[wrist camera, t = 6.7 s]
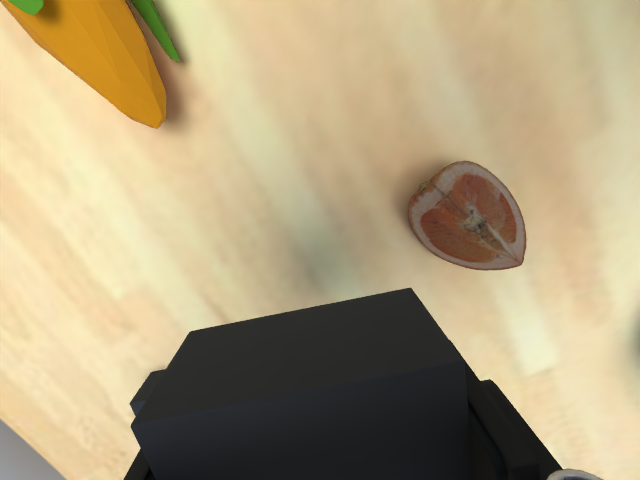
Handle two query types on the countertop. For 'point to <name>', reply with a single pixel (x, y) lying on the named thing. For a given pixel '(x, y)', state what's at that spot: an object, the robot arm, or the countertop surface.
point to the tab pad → (313, 398)
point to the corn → (103, 48)
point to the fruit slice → (469, 218)
